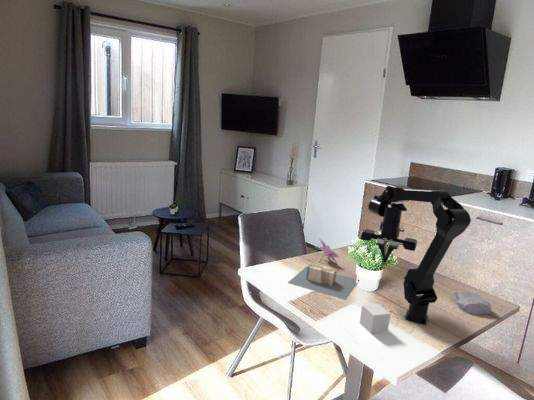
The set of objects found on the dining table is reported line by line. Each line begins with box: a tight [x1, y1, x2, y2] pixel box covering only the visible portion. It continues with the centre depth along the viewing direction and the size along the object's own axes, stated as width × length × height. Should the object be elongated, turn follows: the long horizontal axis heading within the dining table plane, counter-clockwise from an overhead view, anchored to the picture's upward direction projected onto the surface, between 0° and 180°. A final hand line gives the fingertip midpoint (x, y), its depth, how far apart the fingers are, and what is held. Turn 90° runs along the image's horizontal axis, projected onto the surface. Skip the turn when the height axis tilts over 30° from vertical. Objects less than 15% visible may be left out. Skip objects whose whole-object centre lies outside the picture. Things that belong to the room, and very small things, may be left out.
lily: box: [318, 238, 340, 264], centre depth 167 cm, size 12×12×10 cm
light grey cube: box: [359, 303, 391, 334], centre depth 118 cm, size 6×6×6 cm
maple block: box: [306, 262, 338, 286], centre depth 147 cm, size 5×5×10 cm
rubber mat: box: [287, 265, 358, 300], centre depth 147 cm, size 20×22×1 cm
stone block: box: [452, 290, 492, 315], centre depth 138 cm, size 12×5×10 cm
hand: (384, 262), depth 140 cm, fingers closed
